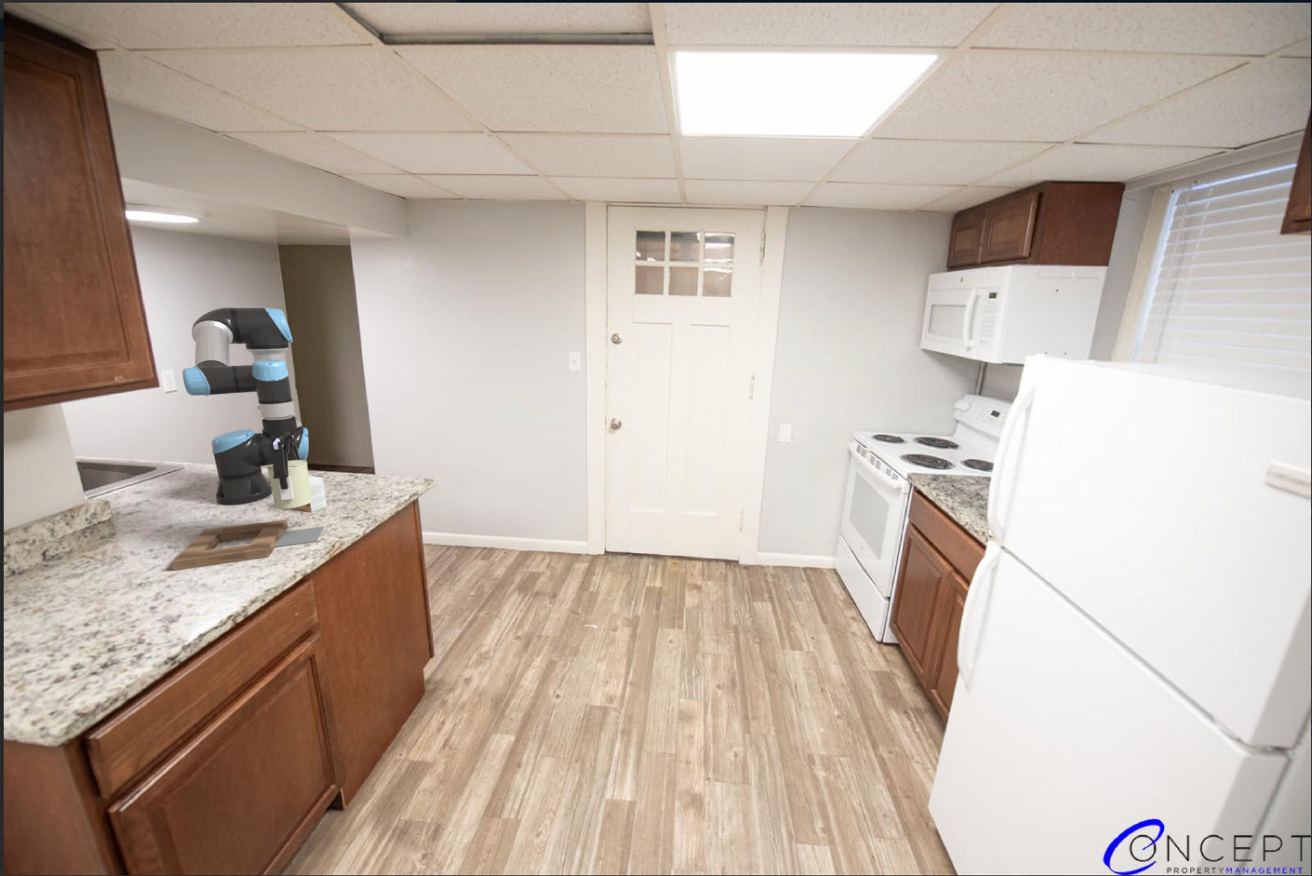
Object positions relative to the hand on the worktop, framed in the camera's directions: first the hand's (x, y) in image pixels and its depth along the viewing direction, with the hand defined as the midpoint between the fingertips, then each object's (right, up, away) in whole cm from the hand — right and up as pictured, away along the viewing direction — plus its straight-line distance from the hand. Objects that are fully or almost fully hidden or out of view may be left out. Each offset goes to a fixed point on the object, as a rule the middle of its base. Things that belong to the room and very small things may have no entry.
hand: (292, 492), depth 143 cm
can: (0, -3, +1) cm, 3 cm away
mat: (0, -13, +4) cm, 14 cm away
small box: (-12, -8, +24) cm, 28 cm away
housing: (-14, -15, -3) cm, 21 cm away
